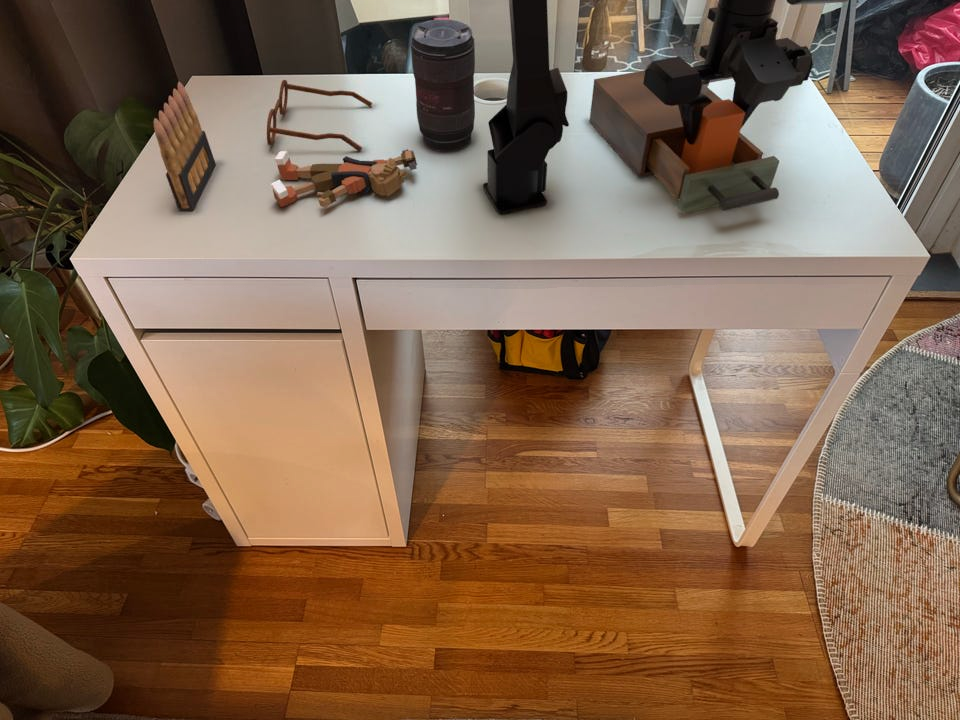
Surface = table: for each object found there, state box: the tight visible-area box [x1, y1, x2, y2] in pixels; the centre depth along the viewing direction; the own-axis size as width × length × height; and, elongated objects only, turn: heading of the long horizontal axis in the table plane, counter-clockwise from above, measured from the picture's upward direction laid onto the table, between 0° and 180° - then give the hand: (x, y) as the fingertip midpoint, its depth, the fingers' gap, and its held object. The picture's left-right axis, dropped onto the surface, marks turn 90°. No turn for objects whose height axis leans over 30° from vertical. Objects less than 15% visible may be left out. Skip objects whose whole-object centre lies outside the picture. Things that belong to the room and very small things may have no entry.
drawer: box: [646, 131, 780, 214], centre depth 88 cm, size 19×12×5 cm, turn 19°
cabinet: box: [589, 69, 723, 179], centre depth 96 cm, size 15×13×6 cm
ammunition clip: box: [153, 81, 217, 212], centre depth 88 cm, size 11×2×12 cm, turn 179°
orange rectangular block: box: [681, 98, 745, 174], centre depth 87 cm, size 5×4×8 cm
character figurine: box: [271, 148, 418, 209], centre depth 90 cm, size 12×5×18 cm
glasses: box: [266, 79, 373, 152], centre depth 100 cm, size 13×13×5 cm
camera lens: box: [410, 18, 476, 152], centre depth 94 cm, size 8×8×15 cm
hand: (711, 138), depth 86 cm, fingers open, 6 cm apart
